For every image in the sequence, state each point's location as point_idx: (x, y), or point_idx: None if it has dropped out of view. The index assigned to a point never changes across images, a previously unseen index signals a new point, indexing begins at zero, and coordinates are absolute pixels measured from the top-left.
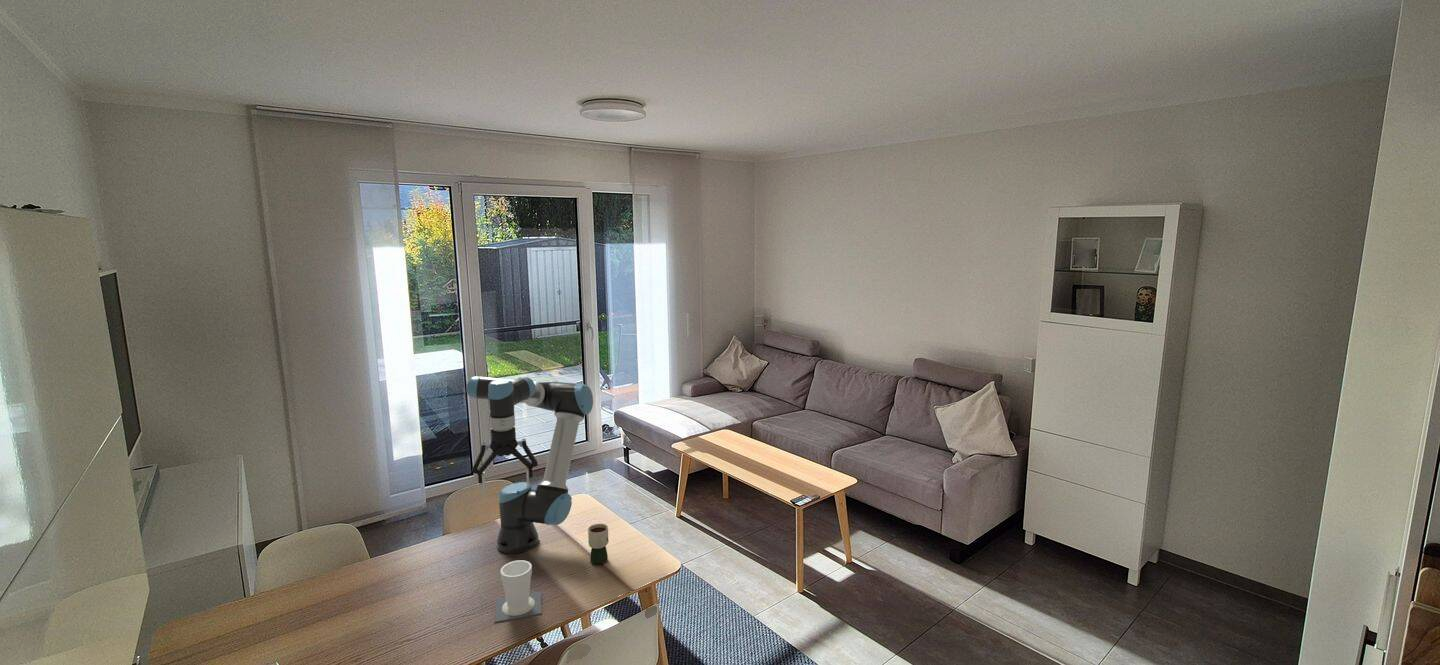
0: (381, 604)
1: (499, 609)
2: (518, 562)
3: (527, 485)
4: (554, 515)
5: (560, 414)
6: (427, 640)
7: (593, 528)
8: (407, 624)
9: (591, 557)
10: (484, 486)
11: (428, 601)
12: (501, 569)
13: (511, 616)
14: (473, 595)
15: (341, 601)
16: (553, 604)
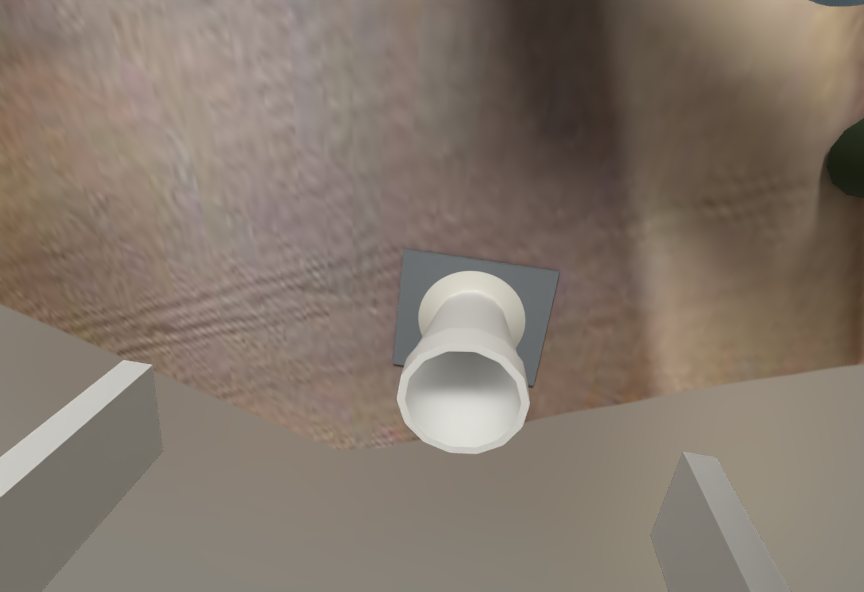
0: (22, 96)
1: (410, 312)
2: (480, 351)
3: (669, 573)
4: (838, 5)
5: None
6: (215, 353)
7: None
8: (143, 255)
9: (844, 168)
10: (91, 525)
11: (179, 151)
12: (402, 382)
13: None
14: (329, 183)
15: None
16: (580, 355)
